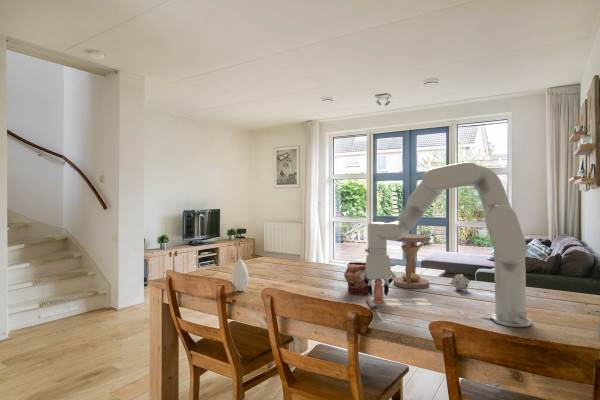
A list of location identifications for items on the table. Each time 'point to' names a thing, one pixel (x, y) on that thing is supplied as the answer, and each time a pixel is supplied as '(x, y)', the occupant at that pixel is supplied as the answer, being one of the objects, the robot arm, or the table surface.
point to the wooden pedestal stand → (411, 263)
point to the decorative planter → (356, 278)
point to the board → (395, 302)
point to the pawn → (378, 292)
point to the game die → (460, 282)
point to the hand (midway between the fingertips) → (378, 294)
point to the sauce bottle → (240, 275)
